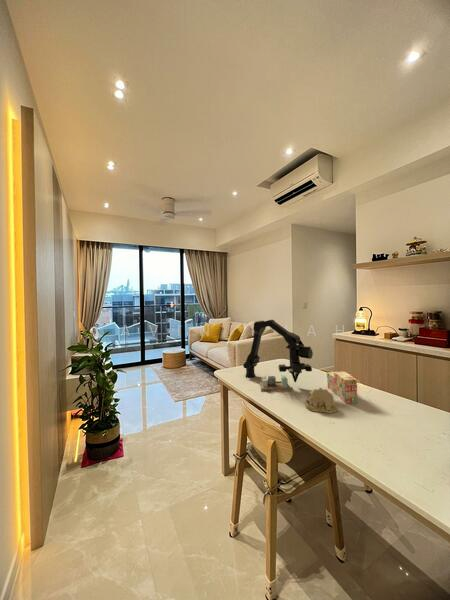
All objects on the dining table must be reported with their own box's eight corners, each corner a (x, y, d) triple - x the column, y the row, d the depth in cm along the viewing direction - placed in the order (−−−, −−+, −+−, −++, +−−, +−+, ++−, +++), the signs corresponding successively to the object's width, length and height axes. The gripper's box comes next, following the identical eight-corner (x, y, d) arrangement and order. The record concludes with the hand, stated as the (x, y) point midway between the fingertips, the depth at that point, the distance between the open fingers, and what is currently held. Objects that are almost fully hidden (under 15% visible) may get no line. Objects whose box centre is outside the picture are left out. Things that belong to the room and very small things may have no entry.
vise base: (259, 383, 157) (259, 375, 157) (287, 383, 156) (286, 374, 156) (261, 391, 145) (260, 381, 145) (290, 390, 144) (290, 381, 144)
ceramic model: (332, 403, 126) (331, 383, 126) (339, 414, 115) (339, 392, 115) (303, 403, 128) (303, 383, 128) (308, 413, 117) (307, 392, 117)
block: (274, 384, 152) (274, 376, 152) (275, 386, 148) (275, 378, 148) (268, 384, 153) (268, 376, 152) (269, 386, 149) (268, 378, 148)
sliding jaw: (281, 382, 154) (281, 375, 154) (285, 382, 154) (285, 375, 153) (283, 387, 146) (283, 379, 146) (287, 387, 146) (287, 379, 146)
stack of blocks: (327, 387, 147) (326, 366, 146) (337, 387, 147) (337, 366, 147) (345, 403, 125) (344, 379, 125) (357, 403, 126) (357, 378, 125)
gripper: (280, 360, 142) (281, 387, 142) (314, 359, 140) (314, 387, 141) (277, 355, 153) (278, 380, 153) (308, 354, 151) (309, 380, 152)
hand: (295, 382), depth 149 cm, fingers closed
